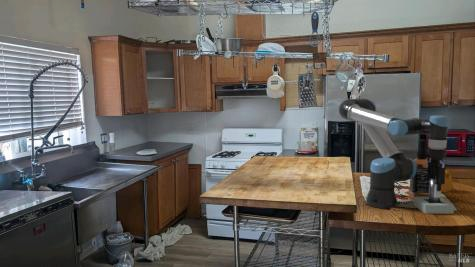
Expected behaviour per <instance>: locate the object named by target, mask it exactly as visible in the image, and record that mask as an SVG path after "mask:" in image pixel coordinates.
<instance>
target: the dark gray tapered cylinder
mask: <svg viewBox="0 0 475 267" xmlns="http://www.w3.org/2000/svg"><path fill="white" fill-rule="evenodd" d="M435 183H436V177H435V178H430V183H429V202H428V203H440V198H435V197H434V193H435Z"/></svg>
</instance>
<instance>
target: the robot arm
mask: <svg viewBox="0 0 475 267" xmlns="http://www.w3.org/2000/svg"><path fill="white" fill-rule="evenodd" d="M338 113H339V115H340V117H341V118H342V119H345V120H346V121H350V122H356V123H357V124H358V125H359V126H362V127H363V129H364V130H365V132H366V133H367V135H368V136H369V138H370V140H371V141H372V143H373V144H374V146H375V148H376V149H377V150H378V151H377V152H379V154H380V155H381V157H378V158H375V159H373V160H372V161H371V162H370V167H369V168H370V171H369V172H370V173H369V174H370V175H369V178H370V180H369V182H370V183H369V190H368V193H367V195H366V199H365V203H366V204H367V205H368V206H370V207H373V208H377V209H391V208H393V207H397V206H398V198H397V195H396V191H395V183H400V182H406V181H408V180H409V181H410V179H412V178H413V177H414V176H415V175H416V170H417V166H416V163H415V162H414V161H413V159H412V158H410V157H407V156H406V154H404V152H403V151H400V150H398V148H397V147H396V146H395V144H394V143H393V140H391V138H390V136H389V135H388V134H387V132H388V133H389V134H390V135H391V136H393V137H402V136H409V135H410V136H411V135H427V136H428V143H427V144H428V150H427V155H428V156H429V157H430V158H426V159H427V160H428V169H427V178H429V180H430V178H436V183H435V193H434V197H435V198H442V192H441V187H442V184H445V171H446V167H447V163H444V161H443V159H444V158H445V157H447V143H448V140H447V139H448V137H447V136H448V127H449V122H448V120H449V119H448V116H445V115H430V116H429V118H418V117H415V118H414V117H411V118H408V119H403V118H402V119H401V118H398V117H395V116H392V115H389V114H384V113H382V112H377V106H376V104H375V102H374V101H373V100H371V99H370V98H353V99H352V98H347V99H345V100H343V101H342V102H341V103H340V104H339V107H338ZM429 183H430V181H429Z"/></svg>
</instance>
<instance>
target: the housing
mask: <svg viewBox="0 0 475 267" xmlns="http://www.w3.org/2000/svg"><path fill="white" fill-rule="evenodd" d="M412 199H413V198H412ZM412 202H413V203H412V205H413V206H414V207H416V208H417V209H419V211H421V212H422V213H424V214H427V215H428V214H440V215H441V214H443V215H444V214H446V215H447V214H455V205H454V204H453V203H452V202H449V201H447V200H446V199H445V198H443V197H441V198H440V203H428V202H429V197H414V199H413V201H412Z"/></svg>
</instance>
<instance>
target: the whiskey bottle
mask: <svg viewBox="0 0 475 267" xmlns="http://www.w3.org/2000/svg"><path fill="white" fill-rule="evenodd" d="M417 144H418V145H417V146H418V148H417V151H416V158H414V159H412V160H413V161H414V162H415V163H416V166H417V170H416V175H415V176H414V177H413V178H412V179H410V180H409V188H408V197H410V198H411V199H414V197H429V181H430V180H429V178H427V169H428V160H427V159H428V158H427V155H428V151H427V140H426V139H418V143H417Z"/></svg>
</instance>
